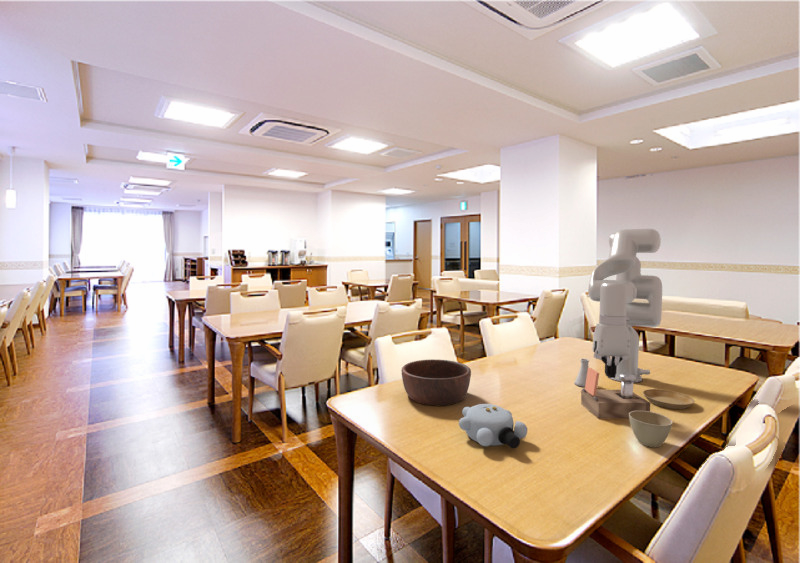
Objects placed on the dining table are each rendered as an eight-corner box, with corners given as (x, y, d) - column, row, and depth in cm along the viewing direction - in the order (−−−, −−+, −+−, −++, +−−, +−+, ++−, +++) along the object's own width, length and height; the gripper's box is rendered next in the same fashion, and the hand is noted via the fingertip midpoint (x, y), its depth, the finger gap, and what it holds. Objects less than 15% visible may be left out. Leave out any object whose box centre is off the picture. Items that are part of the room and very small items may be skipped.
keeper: (584, 389, 133) (587, 389, 133) (593, 395, 127) (595, 396, 127) (588, 367, 132) (590, 367, 132) (596, 372, 126) (599, 373, 126)
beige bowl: (672, 455, 101) (673, 428, 101) (627, 445, 107) (628, 419, 106) (670, 440, 110) (671, 415, 109) (628, 431, 115) (629, 407, 114)
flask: (596, 388, 152) (597, 362, 151) (576, 387, 153) (577, 361, 152) (591, 382, 159) (592, 357, 158) (572, 381, 160) (572, 356, 159)
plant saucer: (659, 393, 147) (659, 386, 147) (703, 407, 133) (704, 399, 133) (633, 399, 141) (633, 392, 140) (677, 415, 127) (677, 407, 127)
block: (628, 403, 136) (628, 386, 136) (649, 418, 124) (650, 399, 124) (579, 403, 136) (580, 386, 136) (596, 418, 124) (597, 399, 124)
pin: (629, 407, 132) (630, 373, 132) (637, 412, 128) (638, 377, 127) (615, 407, 132) (616, 373, 132) (623, 412, 128) (624, 377, 127)
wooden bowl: (484, 395, 145) (484, 367, 144) (442, 415, 127) (442, 384, 126) (430, 380, 162) (430, 355, 161) (387, 396, 144) (387, 368, 143)
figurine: (446, 426, 118) (485, 466, 100) (448, 400, 116) (488, 435, 98) (495, 417, 125) (540, 453, 106) (497, 391, 123) (543, 423, 105)
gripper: (629, 318, 132) (627, 373, 133) (583, 318, 132) (582, 373, 133) (642, 322, 124) (640, 380, 125) (594, 322, 124) (592, 380, 125)
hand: (610, 376), depth 129 cm, fingers closed
